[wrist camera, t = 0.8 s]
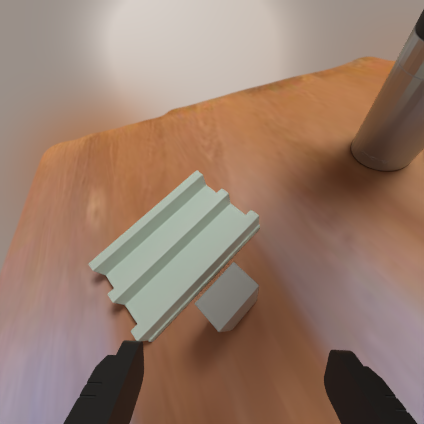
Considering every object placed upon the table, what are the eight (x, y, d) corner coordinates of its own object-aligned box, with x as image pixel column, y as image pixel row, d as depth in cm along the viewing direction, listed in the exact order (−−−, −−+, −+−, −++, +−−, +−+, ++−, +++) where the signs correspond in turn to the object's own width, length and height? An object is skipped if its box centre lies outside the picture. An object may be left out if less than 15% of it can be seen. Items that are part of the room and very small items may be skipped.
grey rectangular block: (240, 284, 30) (233, 261, 19) (256, 300, 28) (259, 285, 18) (215, 312, 29) (194, 303, 18) (231, 330, 27) (218, 332, 17)
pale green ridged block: (201, 184, 40) (195, 169, 36) (259, 228, 33) (260, 216, 30) (105, 269, 34) (87, 262, 31) (153, 341, 28) (138, 343, 24)
